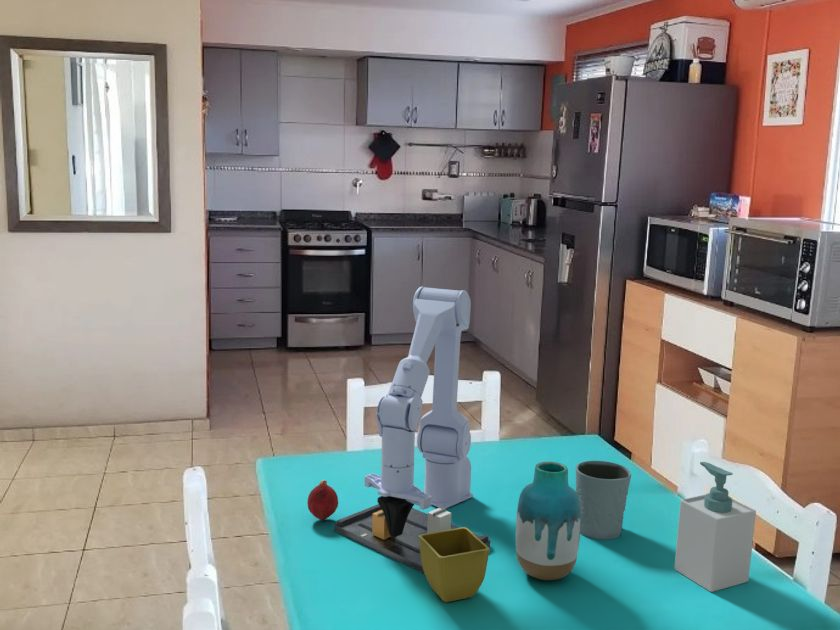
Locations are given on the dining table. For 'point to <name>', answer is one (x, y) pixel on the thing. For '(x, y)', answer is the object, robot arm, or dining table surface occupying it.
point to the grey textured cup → (602, 498)
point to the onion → (322, 501)
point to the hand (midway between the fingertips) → (396, 534)
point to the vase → (548, 524)
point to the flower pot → (453, 562)
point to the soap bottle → (715, 537)
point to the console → (394, 547)
